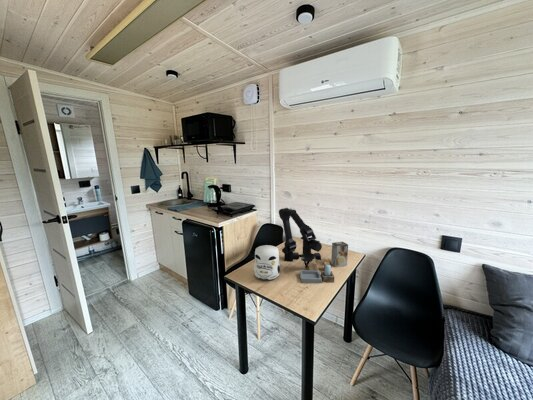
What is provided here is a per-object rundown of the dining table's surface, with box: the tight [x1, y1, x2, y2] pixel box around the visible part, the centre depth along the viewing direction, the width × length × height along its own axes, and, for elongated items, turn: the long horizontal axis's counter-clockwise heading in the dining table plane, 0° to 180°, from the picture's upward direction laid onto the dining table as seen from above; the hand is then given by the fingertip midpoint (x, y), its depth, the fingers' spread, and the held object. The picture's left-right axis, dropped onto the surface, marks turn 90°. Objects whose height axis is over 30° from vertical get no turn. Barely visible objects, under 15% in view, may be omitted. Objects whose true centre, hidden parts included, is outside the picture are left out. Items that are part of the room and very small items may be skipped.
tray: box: [299, 269, 323, 284], centre depth 139 cm, size 12×10×2 cm
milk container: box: [253, 244, 281, 281], centre depth 141 cm, size 17×17×18 cm
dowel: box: [324, 264, 332, 276], centre depth 137 cm, size 4×4×9 cm
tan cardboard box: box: [307, 262, 320, 272], centre depth 149 cm, size 6×9×2 cm, turn 174°
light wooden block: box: [323, 261, 331, 271], centre depth 149 cm, size 3×4×5 cm
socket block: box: [320, 270, 335, 283], centre depth 138 cm, size 7×7×4 cm
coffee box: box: [330, 241, 349, 268], centre depth 155 cm, size 9×6×16 cm
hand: (306, 267), depth 150 cm, fingers closed
